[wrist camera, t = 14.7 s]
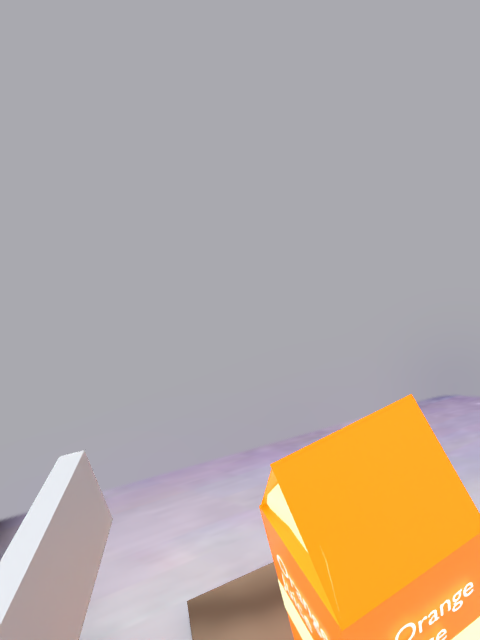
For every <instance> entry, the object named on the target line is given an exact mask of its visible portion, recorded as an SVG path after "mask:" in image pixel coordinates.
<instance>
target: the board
mask: <svg viewBox="0 0 480 640" xmlns="http://www.w3.org/2000/svg"><path fill="white" fill-rule="evenodd" d="M187 604H188V611H189V618H190V625H191V632H192V640H294V636H293V632H292V629H291V625H290V621H289V617H288V613H287V610H286V608H285V605H284V601H283V598H282V594H281V590H280V586H279V582H278V576H277V572H276V568H275V564H274V562H273V563H270V564H268V565H266V566H264V567H262V568H259V569H257V570H255V571H253V572H251V573H248V574H246V575H244V576H242V577H239V578H237V579H235V580H233V581H231V582H228V583H226V584H224V585H222V586H220V587H217V588H215V589H213V590H211V591H208V592H206V593H204V594H202V595H200V596H197V597H195V598H193V599H191V600H189V601H187Z"/></svg>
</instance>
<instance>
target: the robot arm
mask: <svg viewBox="0 0 480 640" xmlns="http://www.w3.org/2000/svg"><path fill="white" fill-rule="evenodd" d="M112 520H113V518H112V516H111V514H110V511H109V509H108V506H107V504H106V501H105V499H104V497H103V494H102V492H101V489H100V487H99V485H98V482H97V480H96V477H95V475H94V473H93V470H92V468H91V465H90V463H89V461H88V458H87V456H86V453H85V451H80V452H76V453H72V454H68V455H64V456H60V457H59V459H58V460H57V462H56V464H55V466H54V467H53V469H52V471H51V473H50V474H49V476H48V478H47V480H46V481H45V483H44V485H43V487H42V489H41V490H40V492H39V494H38V495H37V497H36V499H35V501H34V503H33V504H32V506H31V508H30V510H29V511H28V513H27V515H26V517H25V518H24V520H23V522H22V524H21V525H20V527H19V529H18V531H17V532H16V534H15V536H14V538H13V539H12V541H11V543H10V545H9V546H8V548H7V550H6V552H5V553H4V555H3V557H2V559H1V561H0V640H79V637H80V633H81V630H82V626H83V623H84V619H85V616H86V612H87V609H88V605H89V602H90V598H91V594H92V591H93V587H94V584H95V580H96V577H97V573H98V570H99V566H100V563H101V559H102V555H103V552H104V548H105V545H106V541H107V538H108V534H109V531H110V527H111V524H112Z"/></svg>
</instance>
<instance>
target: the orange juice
mask: <svg viewBox="0 0 480 640" xmlns="http://www.w3.org/2000/svg"><path fill="white" fill-rule="evenodd" d="M270 465H271V468H272V469H271V473H270V476H269V480H268V483H267V487H266V490H265V494H264V497H263V500H262V504H261V505H260V506H259V507H260V511H261V515H262V519H263V522H264V526H265V530H266V534H267V538H268V541H269V545H270V549H271V553H272V557H273V560H274V564H275V568H276V572H277V576H278V582H279V586H280V590H281V594H282V598H283V601H284V605H285V608H286V610H287V613H288V617H289V621H290V625H291V629H292V632H293V636H294V640H480V514H479V512H478V510H477V508H476V506H475V505H474V503H473V501H472V499H471V498H470V496H469V494H468V492H467V491H466V489H465V487H464V485H463V484H462V482H461V480H460V478H459V477H458V475H457V473H456V471H455V470H454V468H453V466H452V464H451V463H450V461H449V459H448V457H447V456H446V454H445V452H444V450H443V448H442V447H441V445H440V443H439V441H438V440H437V438H436V436H435V434H434V433H433V431H432V429H431V427H430V426H429V424H428V422H427V420H426V419H425V417H424V415H423V413H422V412H421V410H420V408H419V406H418V405H417V403H416V401H415V399H414V398H413V396H412V395H411V394H410V395H408V396H406V397H404V398H402V399H400V400H399V401H396V402H394V403H392V404H390V405H388V406H386V407H384V408H383V409H380V410H378V411H376V412H374V413H372V414H370V415H368V416H366V417H364V418H362V419H360V420H358V421H356V422H354V423H352V424H350V425H348V426H346V427H344V428H342V429H340V430H338V431H336V432H334V433H332V434H330V435H328V436H326V437H324V438H322V439H320V440H318V441H316V442H314V443H312V444H310V445H308V446H306V447H304V448H302V449H300V450H298V451H296V452H294V453H292V454H290V455H288V456H286V457H284V458H282V459H280V460H278V461H276V462H274V463H272V464H270Z"/></svg>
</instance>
